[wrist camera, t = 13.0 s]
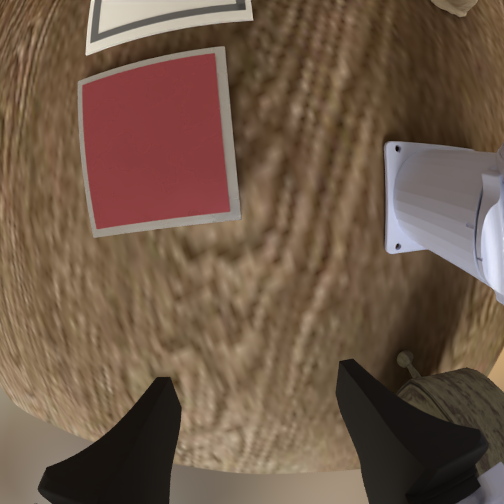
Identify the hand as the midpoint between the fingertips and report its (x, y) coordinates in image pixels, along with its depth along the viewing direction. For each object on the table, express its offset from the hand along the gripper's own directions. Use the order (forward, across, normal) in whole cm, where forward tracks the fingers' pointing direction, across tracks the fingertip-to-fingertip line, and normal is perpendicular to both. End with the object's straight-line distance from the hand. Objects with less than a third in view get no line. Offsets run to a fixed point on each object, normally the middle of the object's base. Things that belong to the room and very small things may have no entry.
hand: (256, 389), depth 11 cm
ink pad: (+9, +5, -11) cm, 15 cm away
